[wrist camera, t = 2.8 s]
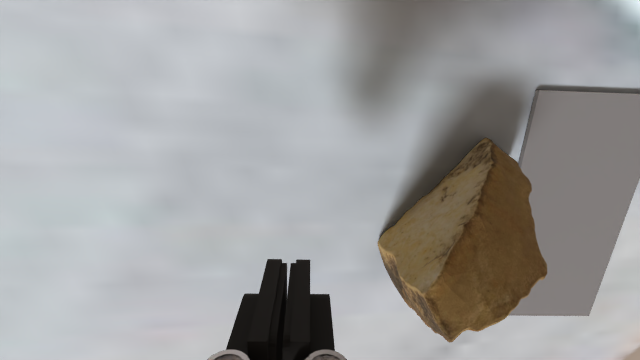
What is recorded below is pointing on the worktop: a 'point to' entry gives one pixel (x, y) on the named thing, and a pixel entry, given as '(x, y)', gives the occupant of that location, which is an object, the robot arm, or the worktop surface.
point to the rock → (467, 245)
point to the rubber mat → (578, 191)
